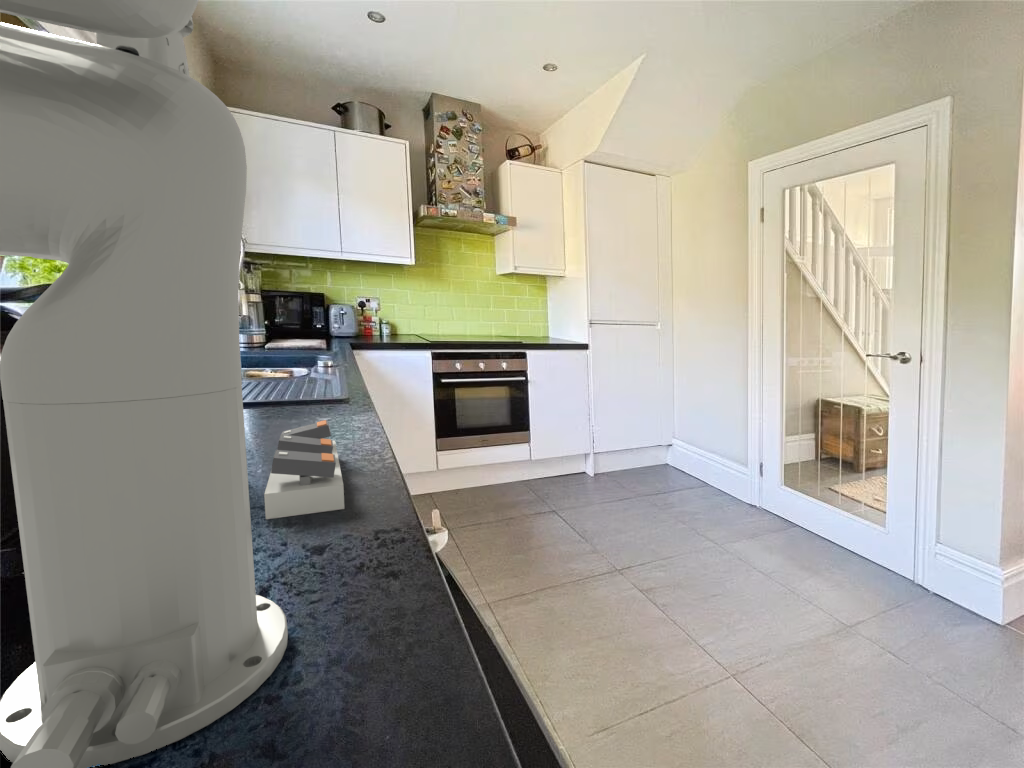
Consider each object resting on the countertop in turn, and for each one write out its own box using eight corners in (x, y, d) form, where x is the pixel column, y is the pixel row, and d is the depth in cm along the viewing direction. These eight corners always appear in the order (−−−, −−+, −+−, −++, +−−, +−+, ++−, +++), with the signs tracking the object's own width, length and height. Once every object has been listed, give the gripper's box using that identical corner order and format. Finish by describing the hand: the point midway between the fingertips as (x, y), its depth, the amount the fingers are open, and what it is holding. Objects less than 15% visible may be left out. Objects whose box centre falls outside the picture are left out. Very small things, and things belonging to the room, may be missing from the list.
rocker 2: (330, 459, 59) (333, 445, 59) (276, 453, 56) (279, 439, 56) (329, 452, 62) (332, 439, 62) (278, 446, 60) (281, 433, 60)
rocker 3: (333, 477, 51) (336, 461, 51) (270, 473, 49) (273, 456, 49) (332, 468, 55) (334, 453, 55) (273, 464, 52) (276, 448, 52)
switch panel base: (344, 508, 51) (343, 476, 51) (265, 519, 48) (263, 485, 48) (335, 457, 71) (334, 434, 71) (280, 463, 68) (278, 438, 68)
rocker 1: (331, 436, 66) (327, 423, 66) (283, 448, 64) (280, 435, 64) (330, 430, 69) (327, 419, 69) (285, 442, 67) (282, 430, 67)
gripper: (168, -55, 36) (187, 198, 39) (208, 50, 50) (220, 233, 52) (39, -87, 34) (67, 189, 36) (118, 34, 47) (135, 227, 50)
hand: (158, 214), depth 44 cm, fingers closed
